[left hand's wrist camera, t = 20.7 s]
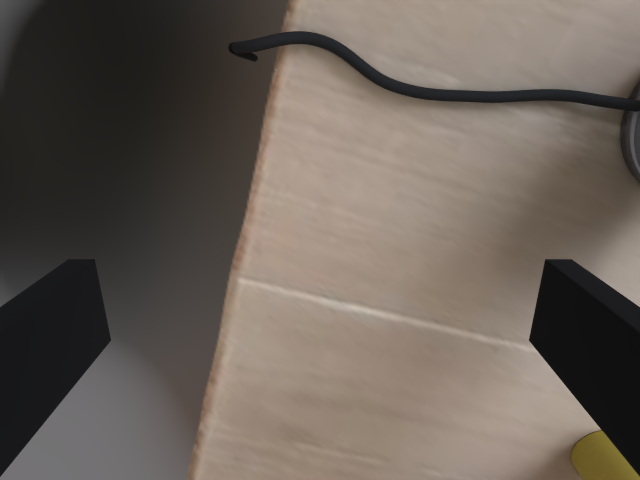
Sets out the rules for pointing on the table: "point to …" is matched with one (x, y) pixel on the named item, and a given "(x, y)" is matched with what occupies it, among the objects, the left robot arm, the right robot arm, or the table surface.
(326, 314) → the table surface
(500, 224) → the table surface
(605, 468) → the canister
